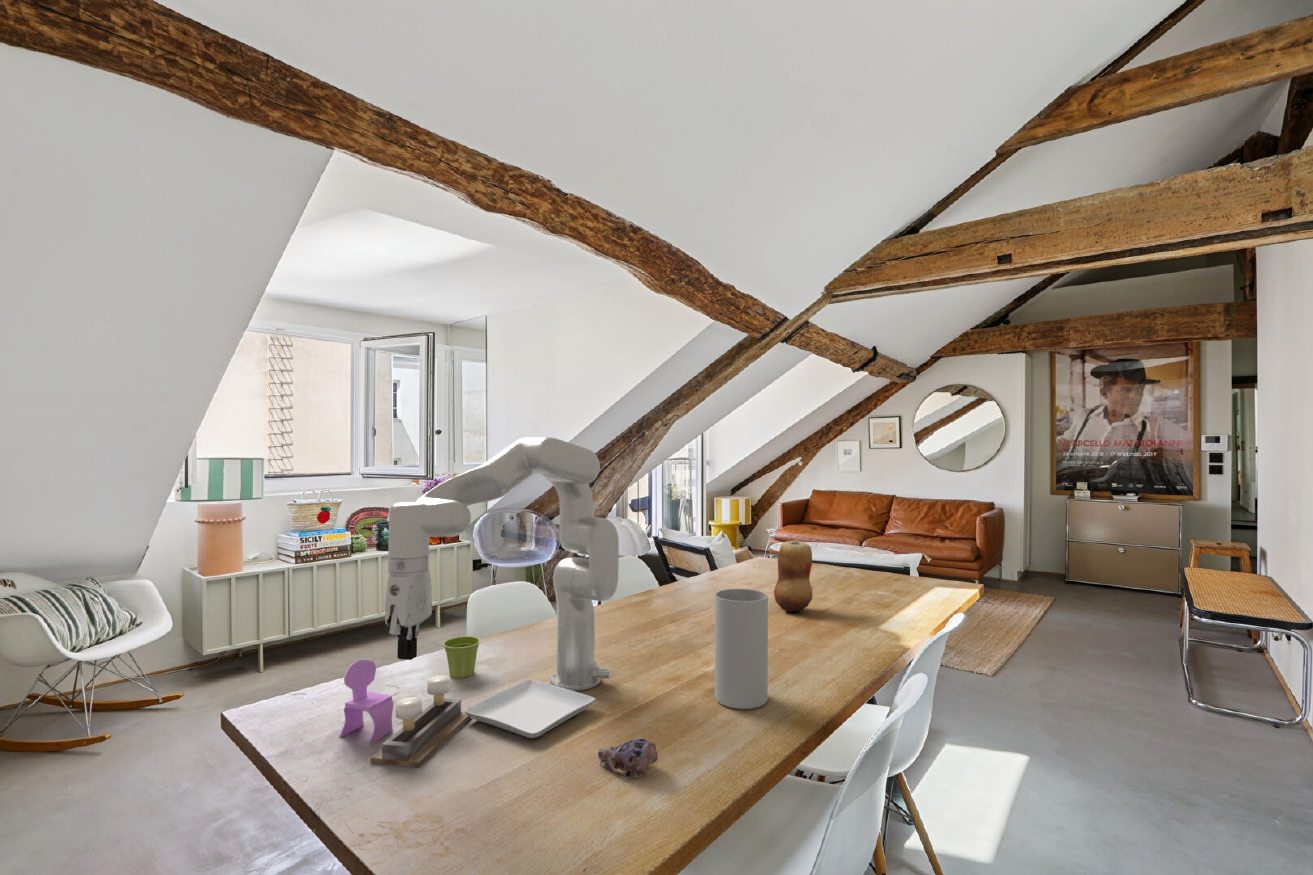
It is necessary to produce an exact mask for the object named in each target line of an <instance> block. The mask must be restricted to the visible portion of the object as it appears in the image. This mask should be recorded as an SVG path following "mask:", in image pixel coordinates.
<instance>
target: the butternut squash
mask: <svg viewBox="0 0 1313 875" xmlns="http://www.w3.org/2000/svg"><path fill="white" fill-rule="evenodd" d="M812 565H813V551H812V548H811V546H810V545H809V544H807V543H805V542H801V541H796V540H790V541H789V540H788V541H787V540H786V541H785V542H783V543H781V545H780V547H779V550H778V557H777V574H778V577H777V582H776V583H775V586H774V590H773V597H774V601H775V602H776V604H777V605H778V606H779V607H780V609H782V610H783V611H784V612H786V613H792V612H793V613H798V612H802V611H803V610H804V609H805V608H808V606H809V605H810V603H811V602H812V600H813V588H812V585H811V581H810V576H811V571H812Z"/></svg>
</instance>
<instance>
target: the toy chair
mask: <svg viewBox="0 0 1313 875" xmlns="http://www.w3.org/2000/svg"><path fill="white" fill-rule="evenodd" d="M376 666H377V665H376V663H375V662H374V661H372V660H368V659H360V660H356V661H354V662H352V663H351V664H350V665H349V667H348V668H347V670H346V672H345V674H344V678H343V681H344V685H345V686H346V687H347V688H349V689H351V690H352V691H351V692H352V699H350V700H348V701H345V703H344V709H343V713H344V718H345V719H344V724H343V727H342V729H341V732H340V734H339V738H342V737H344V736H346V735H347V734H350V733H351V732H353V731H355V730H357V729H359V728H361V727H363V726H364V725H365V722H364V712H366V713H368V714H369V716H370V718H371V719H372V722H373V724H374V727H373V732H372V735H371V738H370V740H369V742H368V743H369V744H372V743H374V742H377V741H378V740H379V739H381V738H382V737H385V736H386V735H387V734H390V733H391V732H393V730H394V729H393V722H392V721H393V710H394V700H393V695H391V694H382V693H378V692H374V691H373V692H372V691H368V689H367V688H368V686H369V685H371V683H372V682H374V681H375V678H376V677H375V676H376V672H377V667H376Z"/></svg>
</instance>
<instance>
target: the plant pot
mask: <svg viewBox="0 0 1313 875" xmlns="http://www.w3.org/2000/svg"><path fill="white" fill-rule="evenodd" d="M480 643H481V639H480V637H477V636H472V635H469V636H468V635H467V636H455V637H453V638H452V637H451V638H449V639H447V640H444V641H443V643H442V646H443V647H444V651H445V652H446V658H447V665H448V671H449V672H448V673H449V677H450V678H451V679H452V678H453V679H463V678H466V677H467V678H469V677H471V676H473V675H474V674H475V667H476V661H477V660H476V659H477V655H478V648H479V645H480Z"/></svg>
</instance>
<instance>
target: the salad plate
mask: <svg viewBox="0 0 1313 875" xmlns="http://www.w3.org/2000/svg"><path fill="white" fill-rule="evenodd" d="M595 701H596V698H595V697H593V696H591V695H588V694H585V693H582V692H579V691H571V690H568V689H564V688H561V687H558V686H554V685H551V683H546V682H543V681H540V680H539V681H538V680H535V679H530V678H529V679H527V680H525V681H523V682H520V683H518V684H516V685H513V686H511V687H510V688H507V689H505V690H502V691H501V692H498V693H496V694H495V695H492V696H490V697H488V698H485V699H484V700H482V701H480V702H477V703H475V704H473V705H471V706H469V707H467V708H465V709H464V711H463V712H464V713H466V714H467V715H468V716H469V717H471V718H470V719H473V720H475V721H478V722H480V723H481V722H482V723H484V724H488V725H491V726H494V727H497V728H500V729H502V730H505V731H509V732H512V733H514V734H518V735H520V736H523V737H525V738H529V739H535V738H539V737H541V736H542V735H544V734H546V733H548V732H549V731H550V730H552V729H554V728H555V727H557V726H559V725H561V724H563V723H564V722H566V721H567V720H569V719H571V718H572V717H573V718H574V717H575V716H577V715H578V714H580V713H582V712H584V711H585V710H587V709H588V708H589V707H591V706H592V705H593V704H594V703H595Z"/></svg>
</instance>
